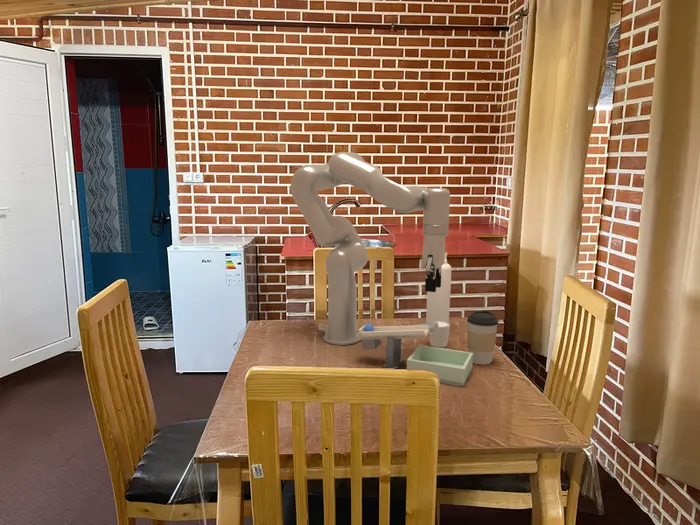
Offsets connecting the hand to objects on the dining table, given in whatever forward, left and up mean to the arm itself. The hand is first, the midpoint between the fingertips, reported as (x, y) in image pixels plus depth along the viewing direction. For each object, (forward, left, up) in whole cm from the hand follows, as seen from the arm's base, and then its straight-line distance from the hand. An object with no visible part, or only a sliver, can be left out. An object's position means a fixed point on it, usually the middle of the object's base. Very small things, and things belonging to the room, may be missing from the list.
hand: (433, 288), depth 157 cm
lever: (-7, -9, -15) cm, 19 cm away
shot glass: (0, +11, -22) cm, 24 cm away
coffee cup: (+15, +2, -22) cm, 26 cm away
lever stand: (-8, -12, -21) cm, 26 cm away
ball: (-16, -12, -11) cm, 23 cm away
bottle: (-4, +25, -22) cm, 33 cm away
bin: (+6, -12, -21) cm, 25 cm away
